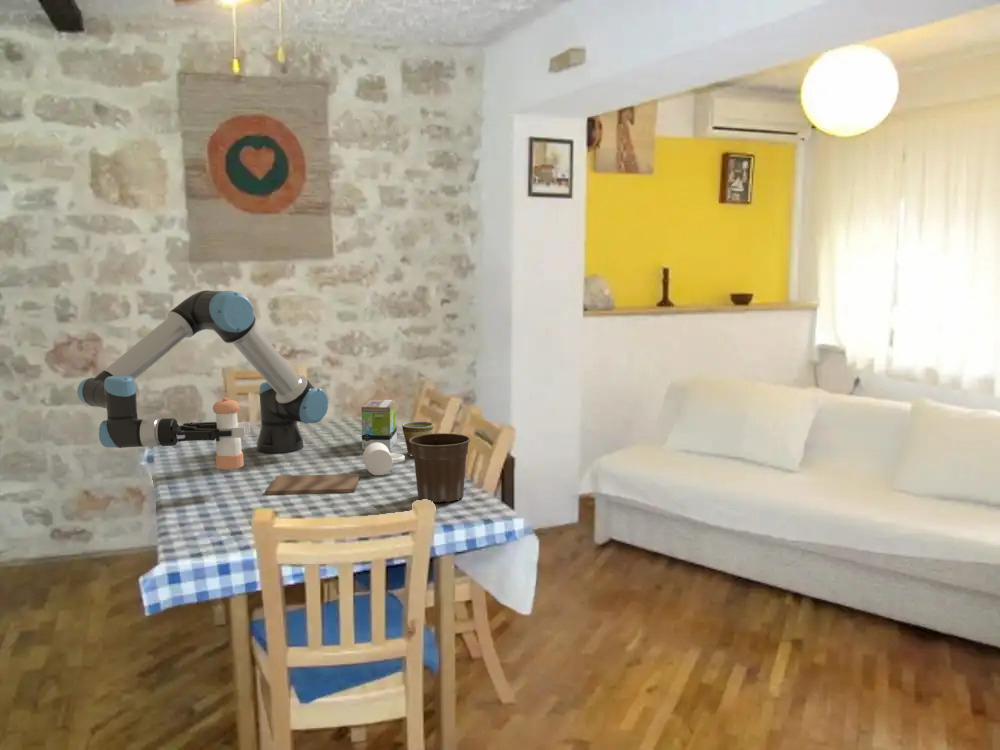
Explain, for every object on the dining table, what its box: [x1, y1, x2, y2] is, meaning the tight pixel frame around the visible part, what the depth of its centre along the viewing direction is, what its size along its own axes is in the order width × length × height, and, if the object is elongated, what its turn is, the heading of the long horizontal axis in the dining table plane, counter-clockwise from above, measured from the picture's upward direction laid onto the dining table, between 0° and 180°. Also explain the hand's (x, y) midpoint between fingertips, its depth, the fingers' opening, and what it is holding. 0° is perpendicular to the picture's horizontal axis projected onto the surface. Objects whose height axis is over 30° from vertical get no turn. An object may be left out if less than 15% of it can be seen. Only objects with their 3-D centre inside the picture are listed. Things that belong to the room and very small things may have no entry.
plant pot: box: [409, 432, 471, 504], centre depth 236 cm, size 16×16×16 cm
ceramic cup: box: [401, 421, 434, 456], centre depth 287 cm, size 13×10×10 cm
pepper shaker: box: [212, 396, 245, 470], centre depth 241 cm, size 7×7×19 cm
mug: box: [362, 442, 406, 476], centre depth 265 cm, size 12×10×8 cm
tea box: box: [361, 399, 398, 451], centre depth 299 cm, size 15×10×15 cm, turn 179°
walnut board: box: [265, 473, 361, 495], centre depth 250 cm, size 24×16×1 cm, turn 93°
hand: (247, 429), depth 241 cm, fingers closed on pepper shaker, 5 cm apart
